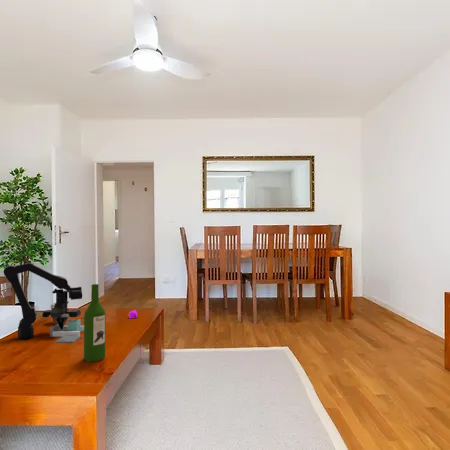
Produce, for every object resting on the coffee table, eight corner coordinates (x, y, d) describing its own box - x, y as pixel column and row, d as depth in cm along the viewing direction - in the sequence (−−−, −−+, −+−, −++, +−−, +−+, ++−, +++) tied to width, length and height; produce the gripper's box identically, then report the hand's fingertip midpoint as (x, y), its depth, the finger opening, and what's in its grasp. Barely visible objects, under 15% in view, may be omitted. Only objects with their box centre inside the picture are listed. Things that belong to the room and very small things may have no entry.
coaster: (55, 342, 172) (55, 341, 172) (63, 337, 181) (63, 335, 181) (73, 342, 172) (73, 341, 172) (80, 337, 181) (80, 335, 181)
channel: (50, 336, 182) (50, 328, 182) (60, 330, 193) (60, 322, 193) (78, 336, 182) (78, 328, 182) (87, 330, 193) (87, 322, 193)
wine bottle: (92, 363, 145) (93, 287, 146) (79, 359, 150) (79, 285, 151) (109, 356, 153) (110, 284, 153) (96, 353, 158) (97, 282, 158)
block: (67, 334, 185) (67, 321, 185) (71, 332, 190) (71, 319, 190) (76, 334, 185) (76, 321, 185) (80, 332, 190) (80, 319, 190)
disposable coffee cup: (46, 324, 205) (46, 304, 205) (59, 320, 214) (59, 301, 214) (58, 326, 201) (58, 305, 202) (71, 322, 210) (71, 302, 210)
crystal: (128, 317, 222) (128, 310, 222) (136, 316, 224) (137, 309, 224) (129, 319, 217) (129, 312, 217) (137, 318, 219) (137, 311, 219)
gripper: (36, 303, 180) (36, 333, 180) (72, 303, 180) (72, 333, 180) (47, 299, 191) (47, 327, 191) (81, 299, 191) (80, 327, 191)
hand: (61, 329), depth 188 cm, fingers closed
